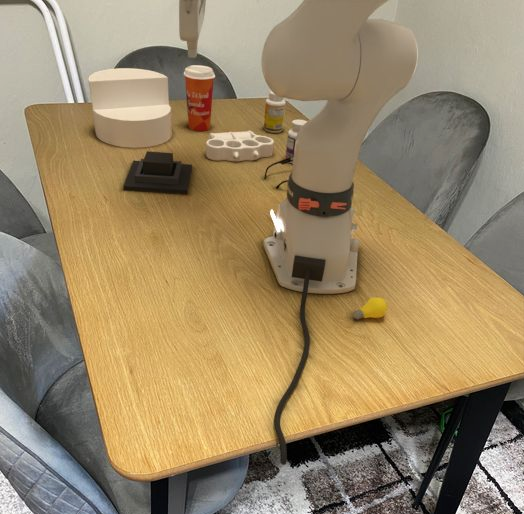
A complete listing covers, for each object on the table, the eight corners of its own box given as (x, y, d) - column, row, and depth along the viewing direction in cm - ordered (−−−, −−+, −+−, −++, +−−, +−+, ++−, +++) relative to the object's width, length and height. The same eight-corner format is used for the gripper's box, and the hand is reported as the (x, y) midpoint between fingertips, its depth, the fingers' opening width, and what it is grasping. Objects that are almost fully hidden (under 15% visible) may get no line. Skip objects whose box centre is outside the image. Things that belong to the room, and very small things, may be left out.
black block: (170, 180, 118) (170, 163, 115) (144, 178, 118) (142, 161, 115) (173, 169, 123) (172, 152, 120) (147, 167, 122) (146, 151, 119)
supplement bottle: (267, 125, 152) (270, 87, 146) (285, 129, 151) (289, 91, 144) (260, 131, 148) (263, 93, 142) (279, 135, 147) (282, 96, 140)
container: (106, 151, 130) (99, 94, 121) (87, 123, 142) (80, 69, 133) (182, 143, 137) (181, 89, 128) (158, 117, 150) (155, 66, 141)
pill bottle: (306, 157, 137) (311, 119, 130) (305, 166, 133) (310, 127, 126) (285, 155, 137) (290, 117, 130) (284, 163, 133) (288, 124, 126)
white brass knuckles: (259, 139, 144) (280, 160, 134) (196, 143, 138) (213, 166, 128) (260, 126, 141) (281, 147, 132) (196, 130, 136) (213, 152, 126)
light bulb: (389, 316, 88) (392, 306, 85) (357, 329, 88) (359, 319, 84) (379, 301, 90) (382, 290, 87) (348, 314, 89) (350, 303, 86)
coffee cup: (180, 129, 145) (178, 70, 135) (191, 120, 151) (190, 62, 141) (208, 134, 143) (208, 75, 133) (218, 125, 149) (219, 67, 139)
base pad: (187, 194, 116) (186, 183, 114) (123, 190, 115) (122, 179, 113) (191, 168, 126) (191, 158, 125) (133, 164, 125) (132, 154, 124)
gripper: (205, -14, 94) (205, 70, 103) (210, -29, 109) (209, 46, 118) (170, -17, 93) (172, 68, 102) (180, -32, 108) (181, 44, 118)
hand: (192, 56), depth 110 cm, fingers closed
